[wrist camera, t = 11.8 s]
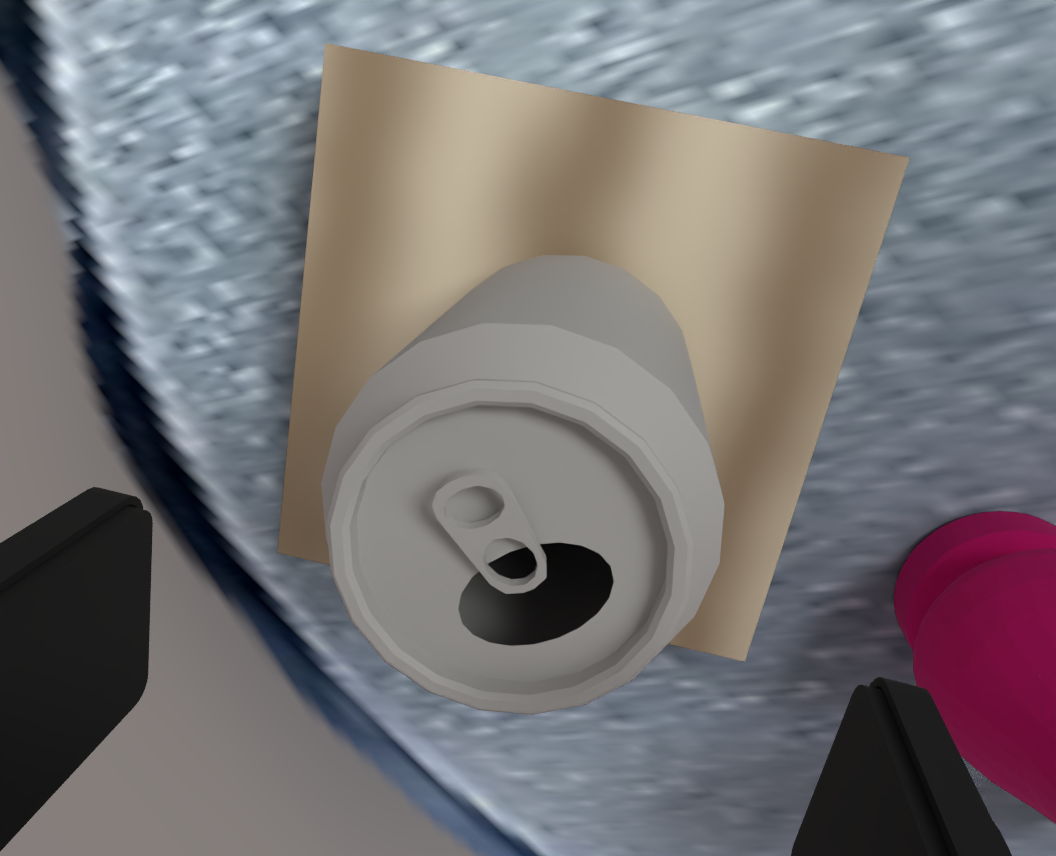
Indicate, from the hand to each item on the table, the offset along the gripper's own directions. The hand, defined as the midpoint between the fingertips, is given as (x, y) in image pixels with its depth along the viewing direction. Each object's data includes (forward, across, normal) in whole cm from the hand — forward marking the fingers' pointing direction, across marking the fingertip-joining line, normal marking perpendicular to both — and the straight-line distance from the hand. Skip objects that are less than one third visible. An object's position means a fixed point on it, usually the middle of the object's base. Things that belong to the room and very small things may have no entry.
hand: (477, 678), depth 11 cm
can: (+15, 0, 0) cm, 15 cm away
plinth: (+18, +1, 0) cm, 18 cm away
